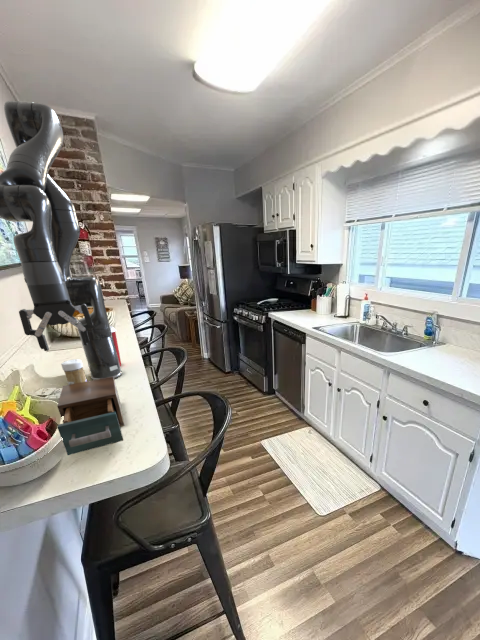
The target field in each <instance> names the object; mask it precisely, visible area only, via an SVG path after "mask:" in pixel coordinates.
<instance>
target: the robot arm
mask: <svg viewBox="0 0 480 640" xmlns="http://www.w3.org/2000/svg"><path fill="white" fill-rule="evenodd" d="M3 112H4V116H5V120H6V123H7V126H8V129H9V132H10V134H11V137H12V140H13V143H14V145H15V148H14V149H13V150H12V152H11V153H10V155H9V157H8V162H7V165H6V169H5V170H4V171H2V172H1V173H0V218H1V219H3V220H4V221H6V222H7V221H8V222H14V223H16V222H17V223H20V222H21V223H23V222H29V223H32V226H31V229H30V230H29V231H26V232H21V233H18V234H16V235H14V236H13V244H14V246H15V250H16V253H17V256H18V258H19V259H18V260H19V262H20V265H21V269H22V270H21V271H22V275H23V277H24V283H25V284H26V286H27V289H28V292H29V296H30V298H31V302H32V304H33V308H32V309H26V308H22V309H20V310H19V311H18V315H19V318H20V321H21V326H22V328H23V333H24V335H26V336H33V337H35V338H36V340H37V343H38V345H39V348H40V349H41V350H43V351H44V352H48V351H49V350H50V347H49V344H48V342H47V338H46V336H45V334H43V333H44V331H45V329H46V327H47V325H48V326H49V325H50V326H58V325H67V324H69V323H70V324H71V325H72V326H73V327H75V328H76V329H77V331H78V335H79V339H80V341H81V346H82V348H83V352H84V356H85V358H86V359H85V360H86V362H87V365H88V369H89V373H90V376H91V381H92V380H98V379H103V378H109V377H114V379H116V378H119V377H121V375H122V374H123V371H122V368H121V366H120V364H119V360H118V356H117V352H116V348H115V345H114V341H113V337H112V333H111V329H110V326H111V325H110V321H109V317H108V313H107V310H106V304H105V299H104V294H103V293H104V292H103V289H102V286H101V283H100V281H99V280H98V278H97V277H96V276H73V277H72V276H71V268H70V267H71V259H72V255H73V253H74V250H75V248H76V245H77V243H78V241H79V238H80V234H81V226H80V221H79V218H78V215H77V212H76V208H75V205H74V203H73V202H72V200H71V198H70V197H69V196H68V195H67V194H66V192H65V191H64V190H63V189H62V188H61V187H60V186H59V185H58V184H57V183H56V182H55V180H54V179H53V178H52V177H51V176H50V174H49V171H50V168H51V167H52V165H53V163H54V161H55V160H56V159H57V157H58V155H59V154H60V151H61V150H62V148H63V145H64V141H65V139H64V131H63V127H62V124H61V121H60V120H59V117H58V115H57V114H56V112H55V110H54V109H53V108H52V107H51V106H49V105H48V104H45V103H41V102H33V101H32V102H31V101H21V100H19V101H18V100H7V101H4V104H3ZM89 308H92V310H93V311H92V312H91V313H90V311H89ZM76 311H78V313H79V314H81V315H83V317H82V318H79V319H78V318H76V317H75V316H74V314H75V312H76ZM33 315H34V316H36V317H37V318H38V319H40V320H41V321H40V322H39V325H38V327H37V329H33V327H32V324H31V319H32V318H33Z"/></svg>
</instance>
